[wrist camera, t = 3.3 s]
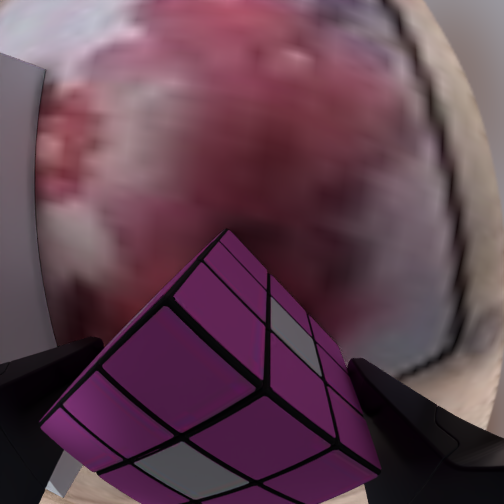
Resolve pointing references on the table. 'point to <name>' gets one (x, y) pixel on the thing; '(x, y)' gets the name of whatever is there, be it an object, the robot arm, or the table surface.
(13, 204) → the tote
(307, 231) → the table surface
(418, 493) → the robot arm
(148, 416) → the puzzle toy
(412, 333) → the table surface
